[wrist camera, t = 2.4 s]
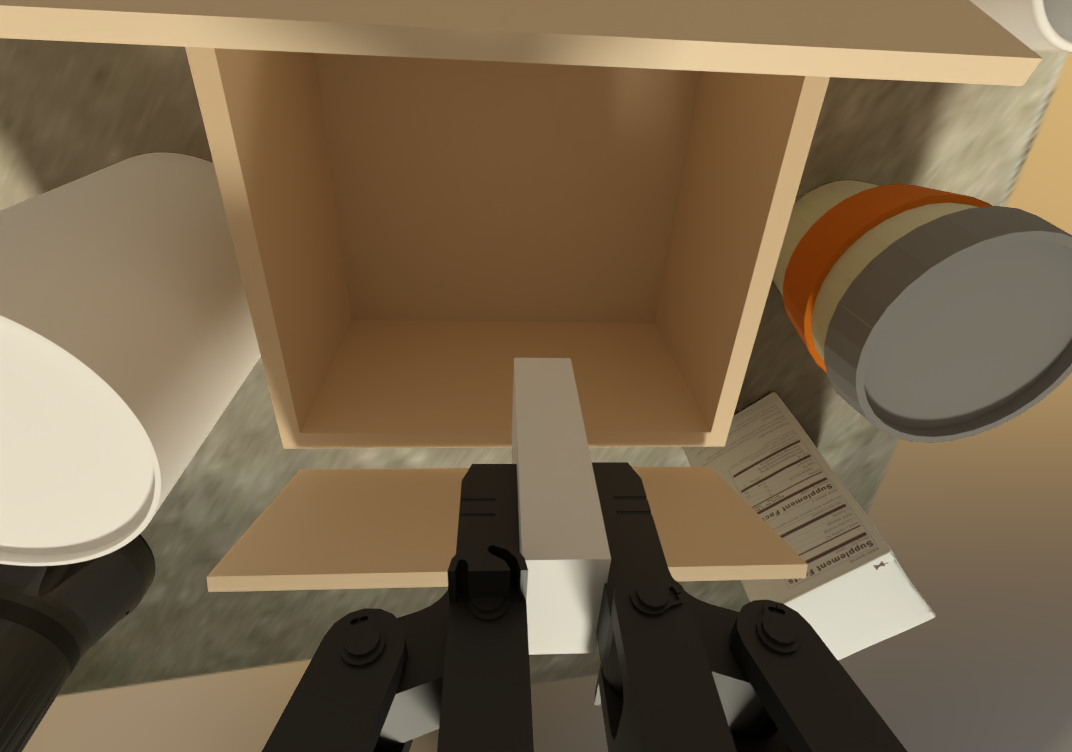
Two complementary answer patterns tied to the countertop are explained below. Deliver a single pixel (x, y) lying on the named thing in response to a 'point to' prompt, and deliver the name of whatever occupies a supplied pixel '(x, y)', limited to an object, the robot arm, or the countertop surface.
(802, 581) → the supplement box
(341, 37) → the flap
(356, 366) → the carton
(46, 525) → the canister
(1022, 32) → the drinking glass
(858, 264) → the reusable coffee cup
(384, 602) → the countertop surface
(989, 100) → the countertop surface
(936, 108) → the countertop surface
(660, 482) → the flap
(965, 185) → the countertop surface
